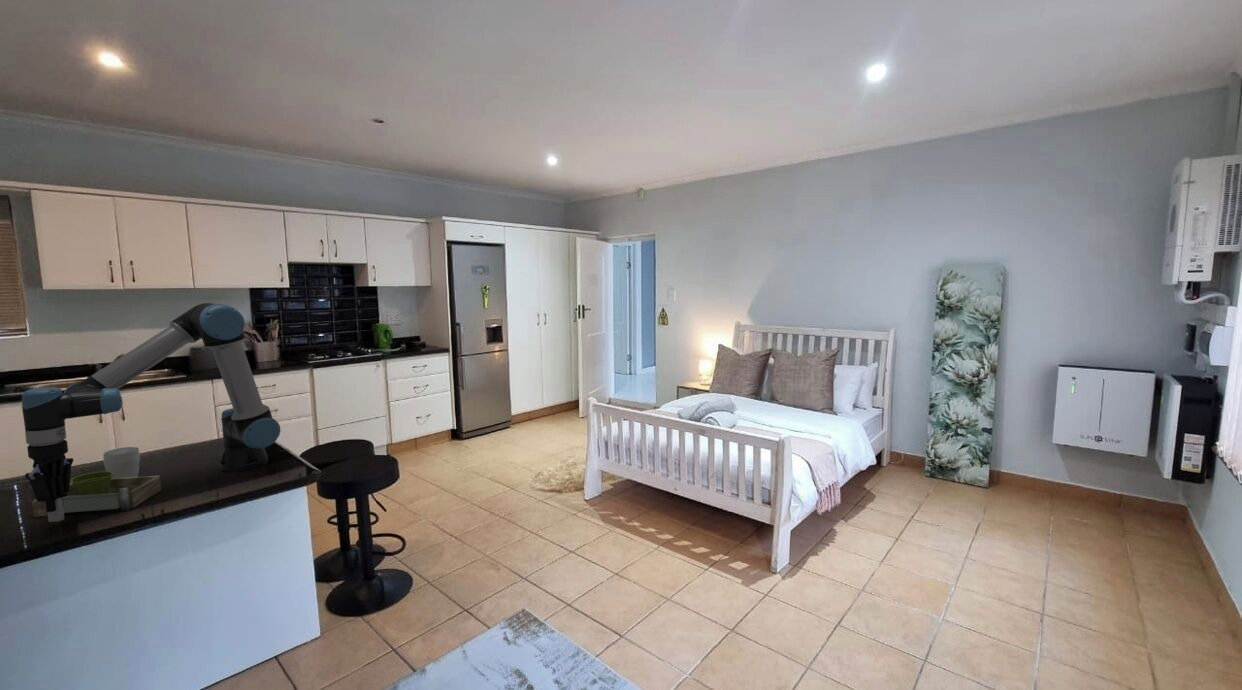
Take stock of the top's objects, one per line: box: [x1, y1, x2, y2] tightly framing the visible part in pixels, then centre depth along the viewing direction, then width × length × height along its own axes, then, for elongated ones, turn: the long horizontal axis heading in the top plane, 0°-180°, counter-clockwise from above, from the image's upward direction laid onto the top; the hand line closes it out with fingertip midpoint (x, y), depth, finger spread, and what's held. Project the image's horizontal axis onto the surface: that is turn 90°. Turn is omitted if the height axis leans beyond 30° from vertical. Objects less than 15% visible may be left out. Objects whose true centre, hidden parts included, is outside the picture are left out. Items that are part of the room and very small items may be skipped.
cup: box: [102, 446, 141, 478], centre depth 174 cm, size 9×9×12 cm
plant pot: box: [70, 470, 113, 495], centre depth 160 cm, size 9×9×9 cm
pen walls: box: [31, 475, 162, 518], centre depth 160 cm, size 24×16×5 cm
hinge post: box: [119, 487, 131, 512], centre depth 156 cm, size 2×2×7 cm
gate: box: [63, 493, 121, 514], centre depth 153 cm, size 14×1×5 cm, turn 105°
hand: (56, 520), depth 145 cm, fingers closed
